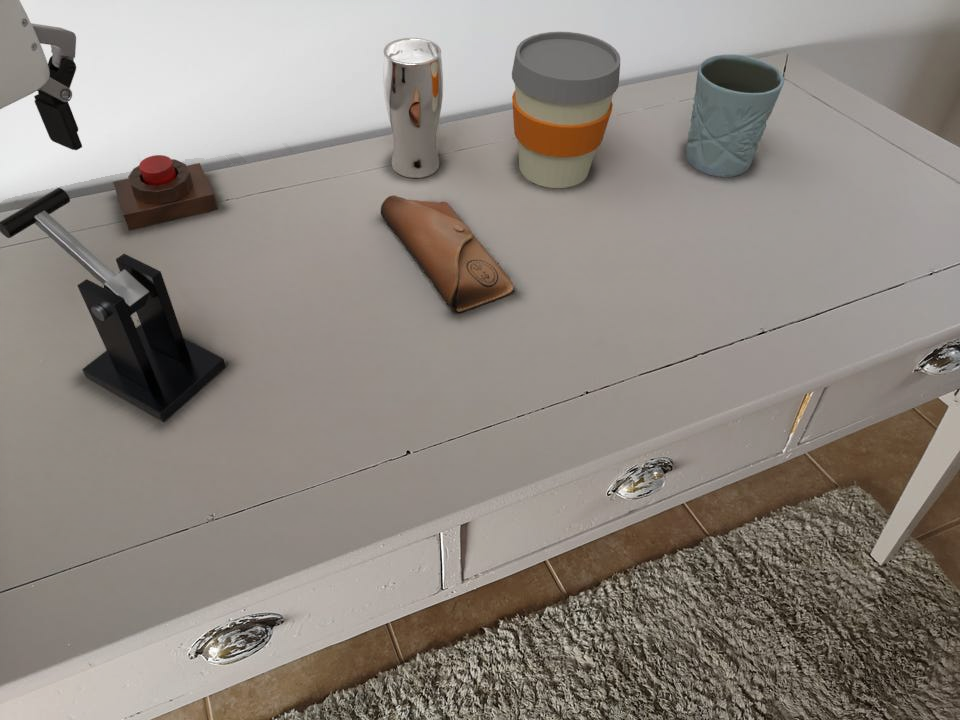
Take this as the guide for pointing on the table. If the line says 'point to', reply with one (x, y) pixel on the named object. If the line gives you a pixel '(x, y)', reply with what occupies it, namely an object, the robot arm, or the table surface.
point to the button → (157, 170)
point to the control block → (165, 196)
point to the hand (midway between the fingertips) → (17, 171)
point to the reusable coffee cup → (562, 104)
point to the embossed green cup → (730, 112)
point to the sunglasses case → (447, 252)
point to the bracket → (146, 346)
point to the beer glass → (413, 103)
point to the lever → (74, 247)
